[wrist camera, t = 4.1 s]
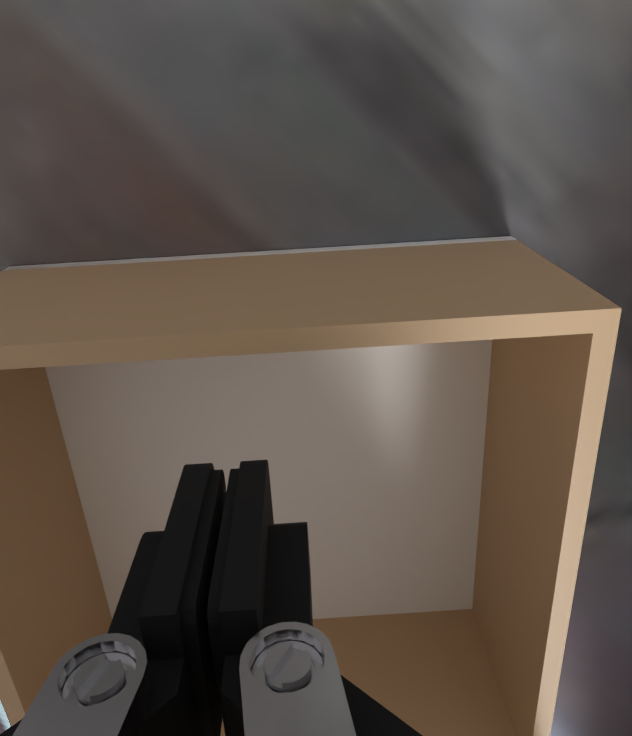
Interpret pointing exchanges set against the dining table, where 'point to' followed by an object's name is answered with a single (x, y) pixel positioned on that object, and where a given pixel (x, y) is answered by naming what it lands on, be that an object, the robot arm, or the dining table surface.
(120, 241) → the dining table surface
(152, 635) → the robot arm
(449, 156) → the dining table surface
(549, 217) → the dining table surface
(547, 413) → the box
